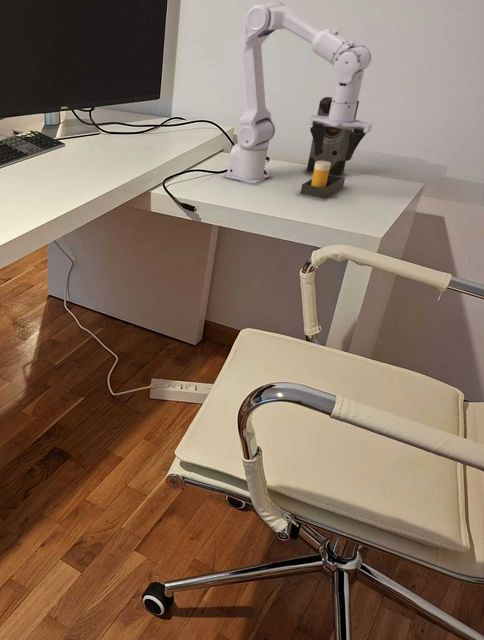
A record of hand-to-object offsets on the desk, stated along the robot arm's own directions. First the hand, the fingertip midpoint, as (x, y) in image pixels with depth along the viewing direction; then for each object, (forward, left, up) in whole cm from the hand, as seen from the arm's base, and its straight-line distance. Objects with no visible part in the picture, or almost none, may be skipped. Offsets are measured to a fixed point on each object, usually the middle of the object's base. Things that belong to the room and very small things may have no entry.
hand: (332, 157), depth 168 cm
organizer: (-2, +3, -10) cm, 11 cm away
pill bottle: (-2, 0, -10) cm, 10 cm away
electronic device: (-8, +17, -10) cm, 21 cm away
